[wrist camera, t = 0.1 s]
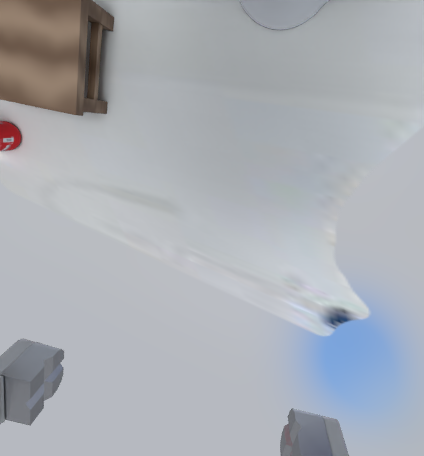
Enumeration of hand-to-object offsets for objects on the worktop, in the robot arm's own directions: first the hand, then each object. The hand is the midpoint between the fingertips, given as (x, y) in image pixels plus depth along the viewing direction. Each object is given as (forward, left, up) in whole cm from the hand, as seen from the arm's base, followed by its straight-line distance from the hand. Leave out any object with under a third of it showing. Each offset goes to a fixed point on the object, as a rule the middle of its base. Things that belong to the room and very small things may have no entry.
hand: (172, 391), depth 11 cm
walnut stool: (-14, -33, -48) cm, 60 cm away
